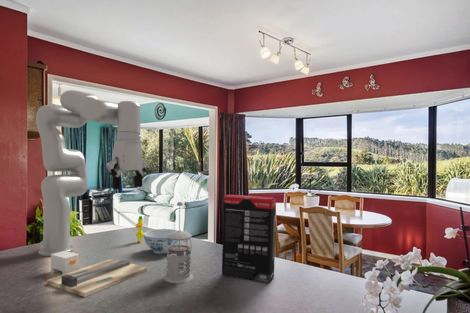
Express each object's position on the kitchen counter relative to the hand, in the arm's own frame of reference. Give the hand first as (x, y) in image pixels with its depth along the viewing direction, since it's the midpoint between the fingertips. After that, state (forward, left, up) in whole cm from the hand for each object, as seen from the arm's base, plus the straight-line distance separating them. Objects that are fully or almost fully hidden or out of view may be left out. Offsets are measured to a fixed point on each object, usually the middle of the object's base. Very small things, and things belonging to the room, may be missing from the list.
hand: (127, 187), depth 108 cm
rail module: (-18, -10, -29) cm, 36 cm away
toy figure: (-24, +30, -29) cm, 48 cm away
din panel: (-4, -7, -29) cm, 30 cm away
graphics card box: (+38, +18, -29) cm, 51 cm away
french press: (+18, +7, -29) cm, 35 cm away
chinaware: (-6, +25, -29) cm, 39 cm away
